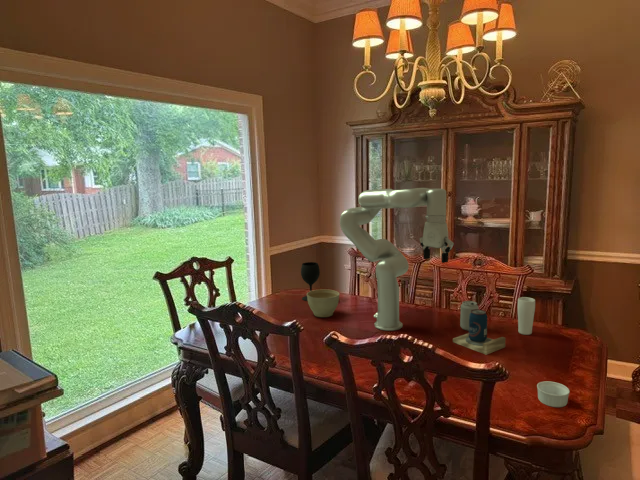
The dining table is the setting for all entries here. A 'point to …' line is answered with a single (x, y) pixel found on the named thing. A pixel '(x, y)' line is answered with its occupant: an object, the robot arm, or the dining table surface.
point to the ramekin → (553, 393)
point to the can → (466, 313)
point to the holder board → (481, 344)
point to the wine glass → (310, 274)
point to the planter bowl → (323, 302)
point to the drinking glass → (525, 315)
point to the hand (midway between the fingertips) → (435, 260)
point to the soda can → (478, 325)
